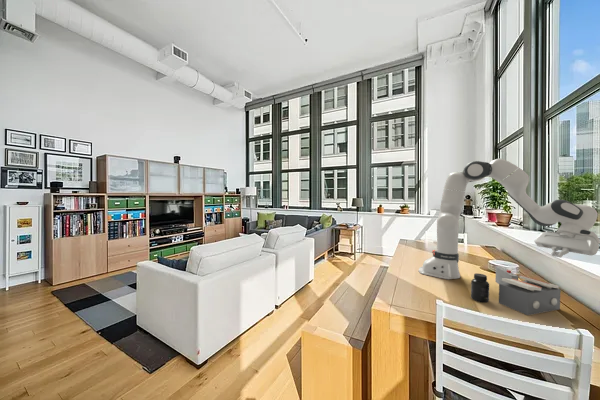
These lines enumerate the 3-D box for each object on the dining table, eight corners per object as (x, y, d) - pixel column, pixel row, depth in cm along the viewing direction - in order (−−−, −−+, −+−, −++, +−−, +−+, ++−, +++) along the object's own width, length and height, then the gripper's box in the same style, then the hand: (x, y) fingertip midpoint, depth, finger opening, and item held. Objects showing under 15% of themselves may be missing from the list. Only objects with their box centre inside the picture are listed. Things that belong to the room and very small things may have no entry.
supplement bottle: (467, 296, 113) (467, 272, 112) (480, 296, 113) (480, 272, 113) (479, 303, 106) (479, 277, 105) (492, 302, 106) (493, 277, 106)
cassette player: (517, 293, 117) (518, 274, 116) (511, 293, 117) (511, 273, 117) (501, 282, 132) (501, 265, 131) (495, 281, 132) (495, 264, 132)
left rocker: (527, 291, 96) (528, 285, 96) (501, 282, 106) (502, 277, 106) (540, 292, 98) (541, 287, 98) (513, 283, 108) (514, 278, 108)
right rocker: (546, 287, 99) (547, 282, 99) (518, 279, 109) (519, 274, 109) (558, 290, 101) (559, 285, 101) (530, 282, 111) (531, 277, 111)
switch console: (528, 315, 95) (529, 294, 95) (498, 303, 106) (499, 283, 106) (561, 309, 100) (562, 289, 100) (529, 298, 111) (529, 279, 111)
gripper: (540, 226, 118) (525, 246, 116) (600, 233, 99) (584, 257, 96) (545, 234, 120) (531, 254, 118) (606, 242, 100) (590, 266, 98)
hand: (555, 255), depth 107 cm, fingers closed
